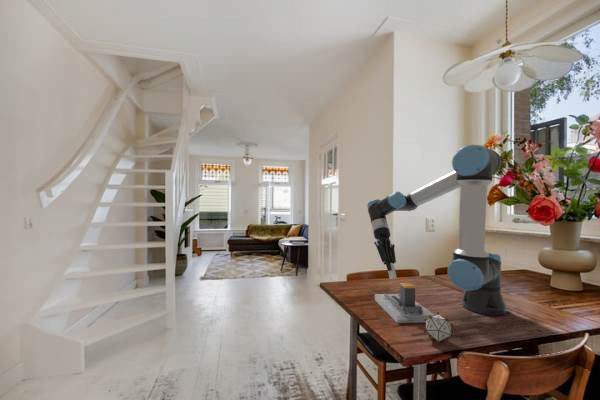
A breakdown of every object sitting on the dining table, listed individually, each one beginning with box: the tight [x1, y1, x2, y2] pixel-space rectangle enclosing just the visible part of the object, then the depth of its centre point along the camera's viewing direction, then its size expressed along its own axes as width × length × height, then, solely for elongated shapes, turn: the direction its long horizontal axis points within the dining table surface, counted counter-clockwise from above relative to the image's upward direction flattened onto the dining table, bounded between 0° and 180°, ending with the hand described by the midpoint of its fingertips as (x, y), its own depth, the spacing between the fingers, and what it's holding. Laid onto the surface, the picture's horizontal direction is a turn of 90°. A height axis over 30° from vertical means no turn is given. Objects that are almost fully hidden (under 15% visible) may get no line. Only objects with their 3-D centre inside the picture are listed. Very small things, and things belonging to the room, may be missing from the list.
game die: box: [423, 311, 455, 345], centre depth 87 cm, size 9×8×10 cm
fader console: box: [374, 292, 435, 324], centre depth 112 cm, size 24×14×4 cm, turn 4°
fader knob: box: [399, 282, 416, 306], centre depth 107 cm, size 5×5×9 cm
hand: (393, 278), depth 124 cm, fingers closed
